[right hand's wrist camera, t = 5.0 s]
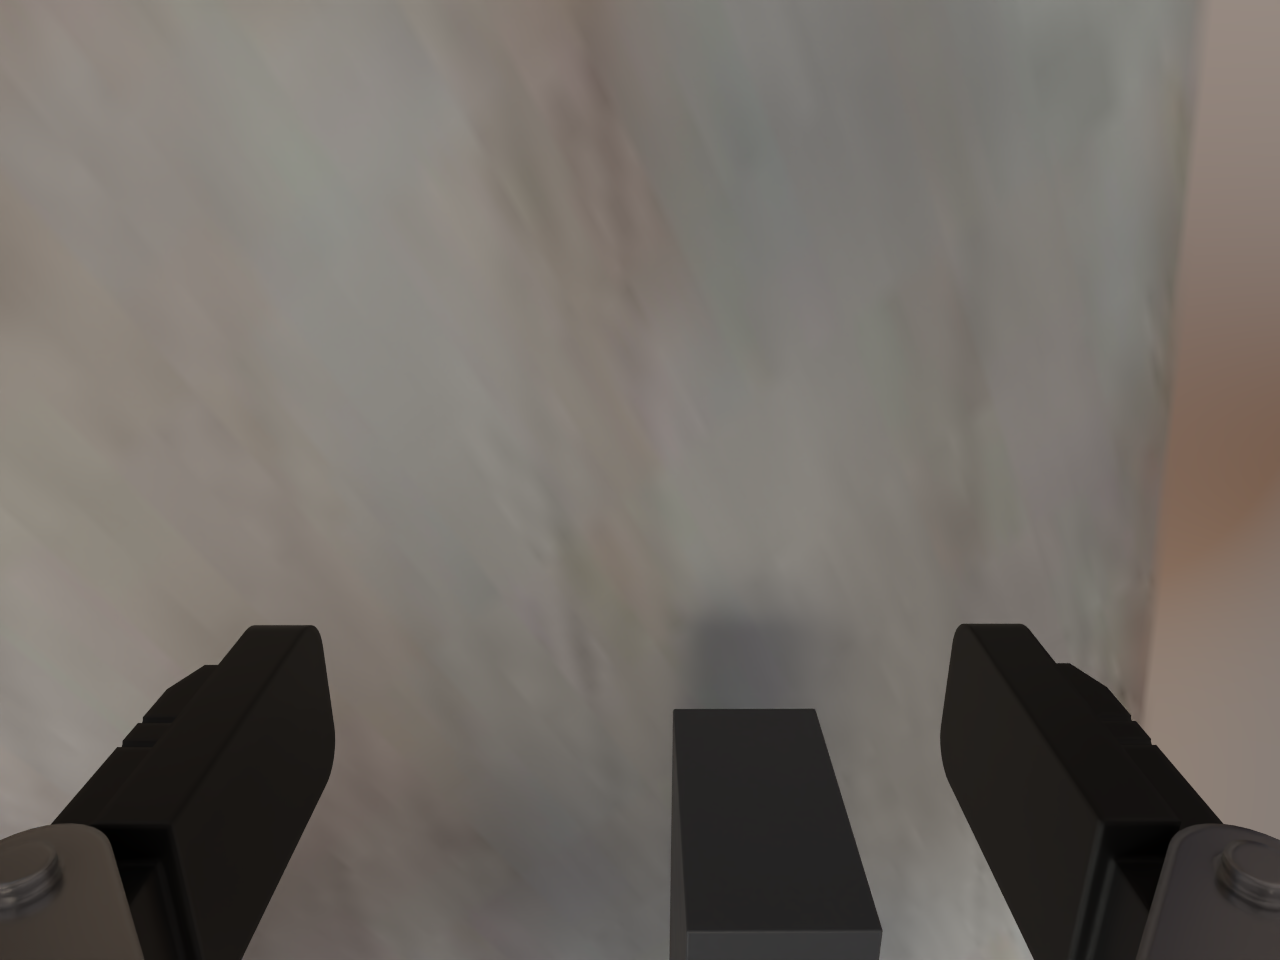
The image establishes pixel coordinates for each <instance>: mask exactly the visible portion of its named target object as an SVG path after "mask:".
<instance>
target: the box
mask: <svg viewBox="0 0 1280 960" xmlns="http://www.w3.org/2000/svg"><path fill="white" fill-rule="evenodd" d="M881 939H882V927H881V924H880V921H879V917H878V914H877V911H876V908H875V904H874V901H873V898H872V894H871V891H870V888H869V885H868V881H867V878H866V875H865V872H864V868H863V865H862V862H861V858H860V855H859V852H858V849H857V845H856V842H855V839H854V835H853V832H852V829H851V826H850V822H849V819H848V816H847V812H846V809H845V806H844V803H843V799H842V796H841V793H840V789H839V786H838V783H837V780H836V776H835V773H834V770H833V766H832V763H831V760H830V757H829V753H828V750H827V747H826V743H825V740H824V737H823V734H822V730H821V727H820V724H819V720H818V717H817V714H816V711H815V709H674V710H673V755H672V826H671V897H670V960H879V954H880V947H881Z"/></svg>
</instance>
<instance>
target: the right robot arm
mask: <svg viewBox="0 0 1280 960" xmlns="http://www.w3.org/2000/svg"><path fill="white" fill-rule="evenodd" d="M940 744H941V755H942V761H943V766H944V770H945V773H946V777H947V779H948V781H949V784H950V786H951V788H952V790H953V792H954V794H955V796H956V798H957V800H958V802H959V804H960V807H961V809H962V811H963V813H964V815H965V817H966V819H967V821H968V823H969V825H970V827H971V829H972V832H973V834H974V836H975V838H976V840H977V842H978V844H979V846H980V848H981V850H982V852H983V854H984V857H985V859H986V861H987V863H988V865H989V867H990V869H991V871H992V873H993V875H994V877H995V879H996V881H997V884H998V886H999V888H1000V890H1001V892H1002V894H1003V896H1004V898H1005V900H1006V902H1007V904H1008V906H1009V909H1010V911H1011V913H1012V915H1013V917H1014V919H1015V921H1016V923H1017V925H1018V927H1019V929H1020V931H1021V934H1022V936H1023V938H1024V940H1025V942H1026V944H1027V946H1028V948H1029V950H1030V952H1031V954H1032V956H1033V959H1034V960H1280V840H1278V839H1276V838H1273V837H1271V836H1268V835H1266V834H1263V833H1260V832H1257V831H1254V830H1251V829H1247V828H1243V827H1238V826H1234V825H1226V824H1223V823H1222V822H1221V821H1220V819H1219V818H1218V817H1217V816H1216V815H1215V814H1214V812H1213V811H1212V810H1211V809H1210V808H1209V806H1208V805H1207V804H1206V803H1205V802H1204V801H1203V799H1202V798H1201V797H1200V796H1199V795H1198V794H1197V792H1196V791H1195V790H1194V789H1193V788H1192V787H1191V785H1190V784H1189V783H1188V782H1187V781H1186V779H1185V778H1184V777H1183V776H1182V775H1181V774H1180V772H1179V771H1178V770H1177V769H1176V768H1175V767H1174V765H1173V764H1172V763H1171V762H1170V761H1169V760H1168V758H1167V757H1166V756H1165V755H1164V754H1163V753H1162V751H1161V750H1160V749H1159V748H1158V747H1157V745H1152V744H1151V738H1150V737H1149V736H1148V735H1147V734H1146V733H1145V731H1144V730H1143V729H1142V728H1141V727H1140V725H1139V724H1138V723H1137V722H1136V721H1131V715H1130V714H1129V713H1128V711H1127V710H1126V709H1125V708H1124V707H1123V706H1122V704H1121V703H1120V702H1119V701H1118V700H1117V698H1116V697H1115V696H1114V695H1113V694H1112V693H1111V691H1110V690H1109V689H1108V688H1107V687H1106V686H1104V685H1103V684H1101V683H1099V682H1098V681H1096V680H1095V679H1093V678H1092V677H1090V676H1089V675H1087V674H1085V673H1084V672H1082V671H1081V670H1079V669H1078V668H1076V667H1075V666H1073V665H1071V664H1070V663H1055V661H1054V660H1053V659H1052V658H1051V656H1050V655H1049V654H1048V653H1047V651H1046V650H1045V649H1044V648H1043V646H1042V645H1041V644H1040V642H1039V641H1038V640H1037V639H1036V637H1035V636H1034V635H1033V634H1032V632H1031V631H1030V630H1029V629H1028V628H1027V627H1026V626H1025V625H1023V624H961V625H960V626H959V627H958V628H957V630H956V632H955V635H954V639H953V644H952V651H951V658H950V665H949V673H948V680H947V687H946V694H945V701H944V708H943V715H942V723H941V733H940ZM334 751H335V729H334V721H333V714H332V707H331V700H330V693H329V686H328V679H327V672H326V665H325V658H324V651H323V644H322V639H321V636H320V633H319V631H318V630H317V628H316V627H315V626H312V625H254V626H251V627H249V628H248V629H247V630H246V631H245V632H244V634H243V635H242V636H241V637H240V639H239V640H238V641H237V642H236V644H235V645H234V646H233V647H232V648H231V650H230V651H229V652H228V653H227V655H226V656H225V657H224V658H223V660H222V661H221V662H220V663H219V665H204V666H203V667H201V668H200V669H198V670H196V671H195V672H193V673H192V674H190V675H189V676H187V677H185V678H184V679H182V680H181V681H179V682H178V683H176V684H175V685H173V686H171V687H170V688H168V689H167V690H166V691H165V692H164V693H163V695H162V696H161V697H160V698H159V699H158V700H157V702H156V703H155V704H154V705H153V706H152V707H151V709H150V710H149V711H148V712H147V713H146V714H145V716H144V717H143V722H142V723H138V724H137V725H136V726H135V727H134V728H133V730H132V731H131V732H130V733H129V734H128V735H127V736H126V738H125V739H124V740H123V745H122V747H117V748H116V749H115V750H114V752H113V753H112V754H111V755H110V756H109V757H108V759H107V760H106V761H105V762H104V763H103V764H102V766H101V767H100V768H99V769H98V770H97V771H96V773H95V774H94V775H93V776H92V777H91V778H90V780H89V781H88V782H87V783H86V784H85V785H84V787H83V788H82V789H81V790H80V791H79V792H78V793H77V795H76V796H75V797H74V798H73V799H72V800H71V802H70V803H69V804H68V805H67V806H66V807H65V809H64V810H63V811H62V812H61V813H60V814H59V816H58V817H57V818H56V819H55V820H54V821H53V823H52V824H51V825H46V826H42V827H37V828H33V829H29V830H26V831H23V832H20V833H17V834H14V835H12V836H9V837H7V838H4V839H2V840H0V960H241V959H242V957H243V955H244V953H245V951H246V949H247V947H248V944H249V942H250V940H251V938H252V936H253V934H254V932H255V930H256V928H257V926H258V924H259V922H260V920H261V918H262V916H263V914H264V912H265V910H266V907H267V905H268V903H269V901H270V899H271V897H272V895H273V893H274V891H275V889H276V887H277V885H278V883H279V881H280V879H281V877H282V875H283V872H284V870H285V868H286V866H287V864H288V862H289V860H290V858H291V856H292V854H293V852H294V850H295V848H296V846H297V844H298V842H299V840H300V838H301V835H302V833H303V831H304V829H305V827H306V825H307V823H308V821H309V819H310V817H311V815H312V813H313V811H314V809H315V807H316V805H317V803H318V800H319V798H320V796H321V794H322V792H323V790H324V788H325V786H326V784H327V782H328V779H329V776H330V773H331V769H332V765H333V759H334Z"/></svg>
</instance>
